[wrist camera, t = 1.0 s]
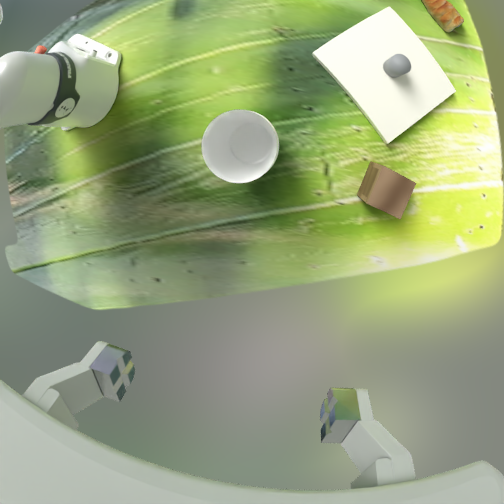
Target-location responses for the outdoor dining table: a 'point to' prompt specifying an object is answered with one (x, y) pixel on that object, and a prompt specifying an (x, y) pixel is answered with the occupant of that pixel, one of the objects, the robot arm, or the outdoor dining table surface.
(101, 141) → the outdoor dining table surface
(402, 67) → the post block
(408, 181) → the brown wood-grain block
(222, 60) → the outdoor dining table surface
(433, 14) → the pastry
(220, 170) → the cup
